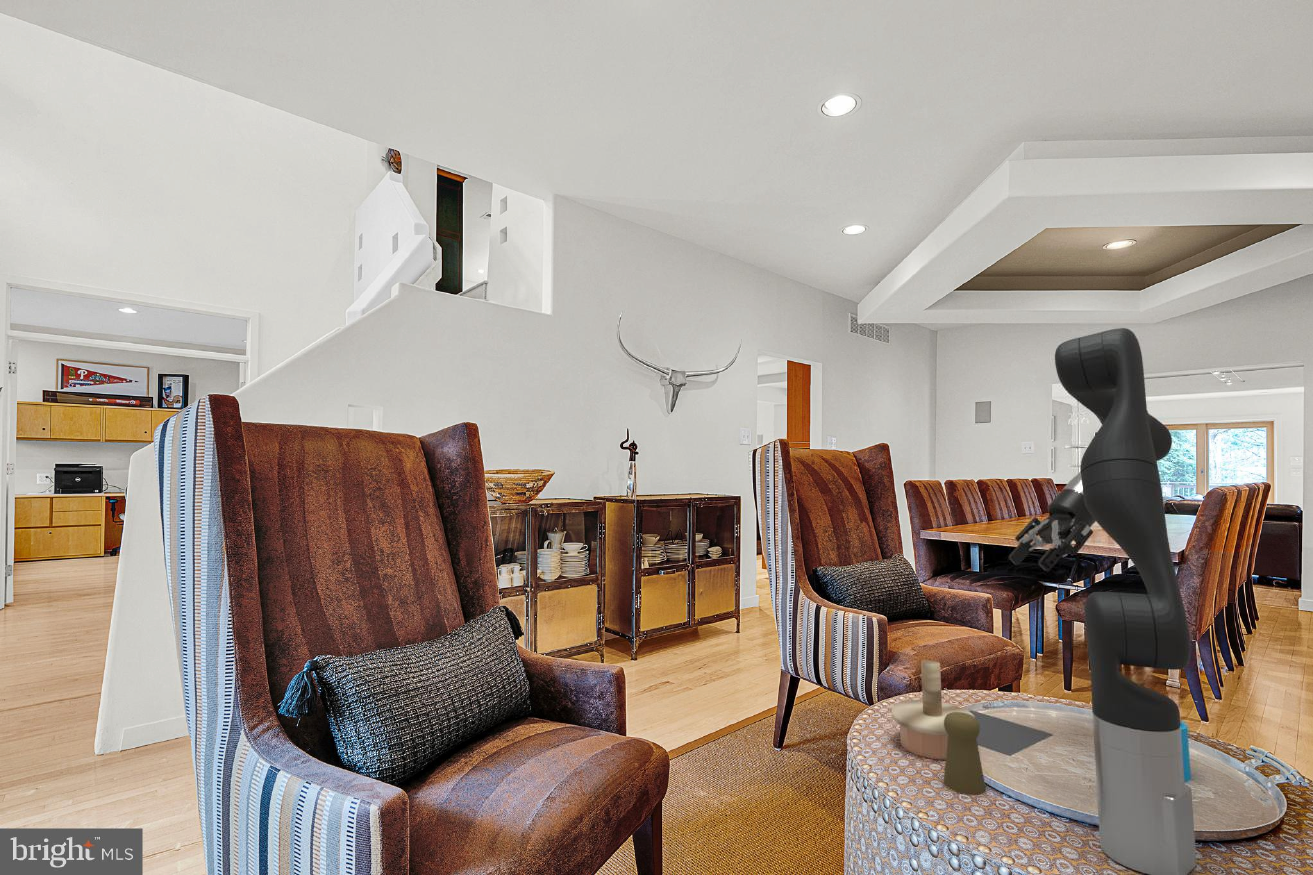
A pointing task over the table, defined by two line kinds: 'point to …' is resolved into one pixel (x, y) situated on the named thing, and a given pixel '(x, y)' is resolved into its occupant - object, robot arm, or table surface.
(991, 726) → the mat
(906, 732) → the bowl
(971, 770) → the olive pawn
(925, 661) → the lid
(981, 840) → the table surface
